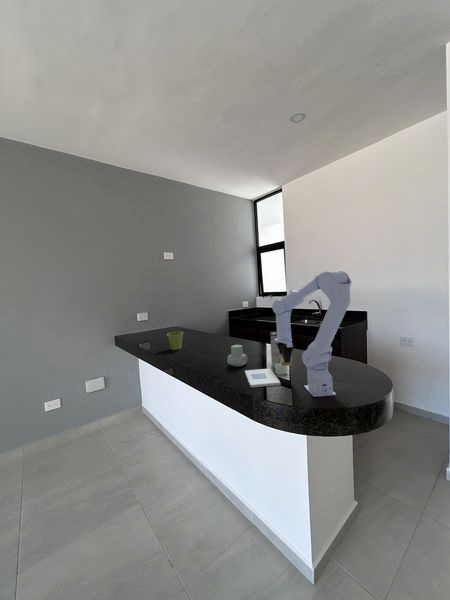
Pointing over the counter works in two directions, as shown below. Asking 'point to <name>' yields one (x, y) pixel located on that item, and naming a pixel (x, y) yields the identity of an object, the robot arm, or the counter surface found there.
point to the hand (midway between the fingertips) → (285, 360)
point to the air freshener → (237, 356)
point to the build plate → (261, 378)
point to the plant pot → (175, 340)
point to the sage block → (280, 369)
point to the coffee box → (274, 349)
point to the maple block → (283, 361)
